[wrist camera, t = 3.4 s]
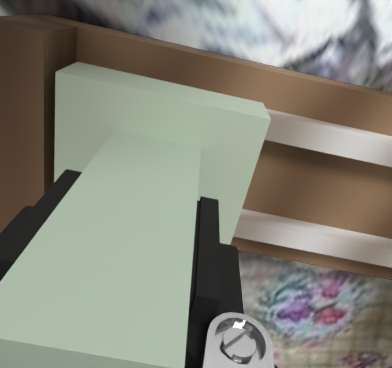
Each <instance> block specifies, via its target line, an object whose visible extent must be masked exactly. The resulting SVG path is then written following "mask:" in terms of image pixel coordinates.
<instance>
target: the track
mask: <svg viewBox="0 0 392 368" xmlns="http://www.w3.org/2000/svg"><path fill="white" fill-rule="evenodd" d="M76 62H81V63H86V64H90V65H95V66H99V67H104V68H108V69H113V70H117V71H122V72H126V73H131V74H135V75H140V76H144V77H149V78H153V79H158V80H162V81H167V82H171V83H176V84H180V85H185V86H189V87H194V88H198V89H203V90H207V91H212V92H216V93H221V94H225V95H230V96H234V97H239V98H243V99H248V100H252V101H257V102H261V103H263V104H264V106H265V108H266V110H267V112H268V114H269V116H270V118H271V121H270V124H269V127H268V130H267V133H266V136H265V139H264V142H263V145H262V148H261V151H260V155H259V158H258V161H257V164H256V167H255V170H254V173H253V176H252V179H251V182H250V185H249V188H248V191H247V195H246V198H245V201H244V204H243V207H242V210H241V213H240V216H239V219H238V222H237V225H236V228H235V231H234V234H233V238H232V241H231V244H230V245H233V246H236V247H237V250H241V251H246V252H251V253H256V254H261V255H266V256H271V257H277V258H282V259H287V260H292V261H297V262H302V263H307V264H312V265H318V266H323V267H328V268H333V269H338V270H343V271H348V272H354V273H359V274H364V275H369V276H374V277H379V278H384V279H390V280H392V93H388V92H383V91H379V90H375V89H370V88H366V87H362V86H357V85H353V84H349V83H344V82H340V81H336V80H331V79H327V78H322V77H318V76H314V75H309V74H305V73H301V72H296V71H292V70H288V69H283V68H279V67H274V66H270V65H266V64H261V63H257V62H253V61H248V60H244V59H240V58H235V57H231V56H227V55H222V54H218V53H213V52H209V51H205V50H200V49H196V48H192V47H187V46H183V45H179V44H174V43H170V42H166V41H161V40H157V39H152V38H148V37H144V36H139V35H135V34H131V33H126V32H122V31H118V30H113V29H109V28H104V27H100V26H96V25H91V24H87V23H83V22H78V21H74V20H70V19H65V18H61V17H57V16H52V15H48V14H43V13H38V14H26V15H14V16H1V17H0V233H1V232H2V231H3V230H4V229H5V227H6V226H7V225H8V224H9V223H10V222H11V221H12V220H13V219H14V218H15V216H16V215H17V214H18V213H19V212H20V211H21V210H22V209H23V208H24V207H25V206H34V205H35V204H36V203H37V202H38V201H39V200H40V199H41V197H42V196H43V195H44V194H45V193H46V192H47V190H48V189H49V188H50V187H51V186H52V185H53V183H54V153H55V72H56V71H58V70H61V69H63V68H65V67H67V66H69V65H71V64H74V63H76Z"/></svg>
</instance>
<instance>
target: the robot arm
mask: <svg viewBox="0 0 392 368" xmlns="http://www.w3.org/2000/svg"><path fill="white" fill-rule="evenodd" d="M81 174H82V172H79V171H74V170H69V169H66V170H65V171H64V172H63V173H62V174H61V175H60V177H59V178H58V179H57V180H56V181H55V182H54V183H53V185H52V186H51V187H50V188H49V189H48V190H47V192H46V193H45V194H44V195H43V196H42V197H41V199H40V200H39V201H38V202H37V203H36V204H35V205H34V206H25V207H24V208H23V209H22V210H21V211H20V212H19V213H18V214H17V215H16V216H15V218H14V219H13V220H12V221H11V222H10V223H9V224H8V225H7V226H6V227H5V229H4V230H3V231H2V232H1V233H0V281H1V280H2V279H3V277H4V276H5V275H6V273H7V272H8V271H9V269H10V268H11V267H12V265H13V264H14V263H15V261H16V260H17V259H18V257H19V256H20V255H21V253H22V252H23V251H24V249H25V248H26V247H27V245H28V244H29V243H30V241H31V240H32V239H33V237H34V236H35V235H36V233H37V232H38V231H39V229H40V228H41V227H42V225H43V224H44V223H45V221H46V220H47V219H48V217H49V216H50V215H51V214H52V212H53V211H54V210H55V208H56V207H57V206H58V204H59V203H60V202H61V200H62V199H63V198H64V196H65V195H66V194H67V192H68V191H69V190H70V188H71V187H72V186H73V184H74V183H75V182H76V180H77V179H78V178H79V176H80V175H81ZM184 368H278V367H277V366H276V365H275V364H274V353H273V345H272V341H271V338H270V336H269V335H268V333H267V331H266V330H265V329H264V328H263V327H262V325H261V324H260V323H259V322H257V321H256V320H254V319H253V318H251V317H249V316H247V315H244V312H243V301H242V291H241V281H240V271H239V261H238V251H237V247H236V246H233V245H228V244H223V243H220V232H219V201H218V200H217V199H212V198H207V197H202V196H201V197H200V200H197V210H196V223H195V236H194V249H193V262H192V276H191V289H190V302H189V315H188V328H187V341H186V354H185V367H184Z"/></svg>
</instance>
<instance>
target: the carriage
mask: <svg viewBox="0 0 392 368" xmlns="http://www.w3.org/2000/svg"><path fill="white" fill-rule="evenodd" d="M270 121H271V118H270V116H269V114H268V112H267V110H266V108H265V106H264V104H263V103H261V102H257V101H252V100H248V99H243V98H239V97H234V96H230V95H225V94H221V93H216V92H212V91H207V90H203V89H198V88H194V87H189V86H185V85H180V84H176V83H171V82H167V81H162V80H158V79H153V78H149V77H144V76H140V75H135V74H131V73H126V72H122V71H117V70H113V69H108V68H104V67H99V66H95V65H90V64H86V63H81V62H76V63H74V64H71V65H69V66H67V67H65V68H63V69H61V70H58V71H56V72H55V153H54V182H55V181H56V180H57V179H58V178H59V177H60V175H61V174H62V173H63V172H64V171H65V170H66V169H69V170H74V171H79V172H82V174H81V175H80V176H79V178H78V179H77V180H76V182H75V183H74V184H73V186H72V187H71V188H70V190H69V191H68V192H67V194H66V195H65V196H64V198H63V199H62V200H61V202H60V203H59V204H58V206H57V207H56V208H55V210H54V211H53V212H52V214H51V215H50V216H49V217H48V219H47V220H46V221H45V223H44V224H43V225H42V227H41V228H40V229H39V231H38V232H37V233H36V235H35V236H34V237H33V239H32V240H31V241H30V243H29V244H28V245H27V247H26V248H25V249H24V251H23V252H22V253H21V255H20V256H19V257H18V259H17V260H16V261H15V263H14V264H13V265H12V267H11V268H10V269H9V271H8V272H7V273H6V275H5V276H4V277H3V279H2V280H1V281H0V368H184V367H185V354H186V341H187V328H188V315H189V302H190V289H191V276H192V262H193V249H194V236H195V223H196V210H197V200H200V197H201V196H202V197H207V198H212V199H217V200H218V201H219V232H220V243H223V244H228V245H230V244H231V241H232V238H233V234H234V231H235V228H236V225H237V222H238V219H239V216H240V213H241V210H242V207H243V204H244V201H245V198H246V195H247V191H248V188H249V185H250V182H251V179H252V176H253V173H254V170H255V167H256V164H257V161H258V158H259V155H260V151H261V148H262V145H263V142H264V139H265V136H266V133H267V130H268V127H269V124H270Z"/></svg>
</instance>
